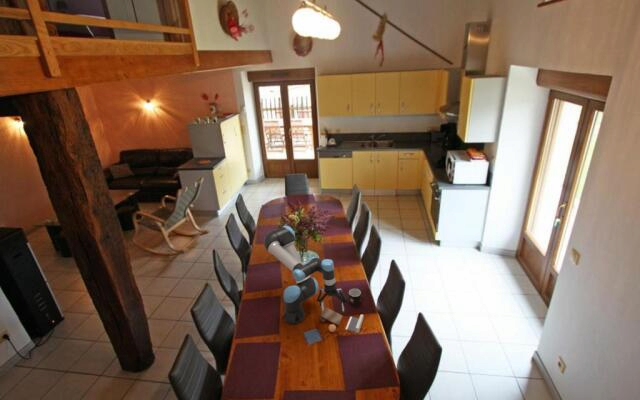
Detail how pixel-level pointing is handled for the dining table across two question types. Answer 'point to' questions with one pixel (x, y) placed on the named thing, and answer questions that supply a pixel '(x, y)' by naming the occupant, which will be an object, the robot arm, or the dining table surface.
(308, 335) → the woven mat
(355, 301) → the coffee mug
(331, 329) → the ball
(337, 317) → the ramp
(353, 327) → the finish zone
